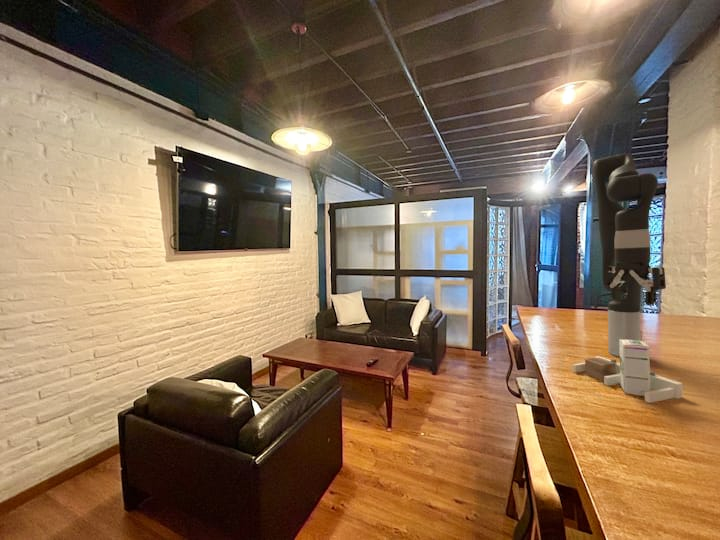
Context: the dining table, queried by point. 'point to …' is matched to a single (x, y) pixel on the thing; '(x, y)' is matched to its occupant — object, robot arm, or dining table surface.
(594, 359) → the walnut block
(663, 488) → the dining table surface
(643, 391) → the syrup box
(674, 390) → the notch rail
